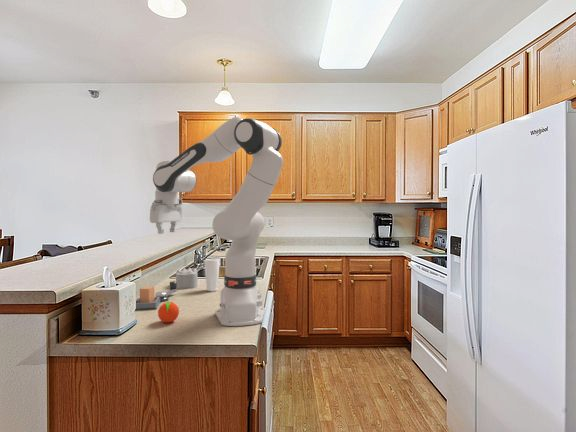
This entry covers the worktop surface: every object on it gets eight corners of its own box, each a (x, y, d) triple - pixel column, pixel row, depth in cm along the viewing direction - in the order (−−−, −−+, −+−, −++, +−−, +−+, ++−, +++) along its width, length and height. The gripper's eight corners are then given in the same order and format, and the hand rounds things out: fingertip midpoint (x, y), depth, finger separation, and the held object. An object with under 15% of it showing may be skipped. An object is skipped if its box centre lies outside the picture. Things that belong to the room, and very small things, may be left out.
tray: (155, 309, 136) (155, 302, 136) (131, 310, 134) (131, 303, 134) (160, 302, 145) (160, 297, 144) (137, 304, 143) (137, 298, 143)
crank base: (167, 301, 146) (167, 298, 146) (152, 302, 145) (152, 299, 145) (169, 298, 152) (169, 295, 152) (155, 298, 151) (155, 296, 151)
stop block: (149, 306, 137) (148, 289, 137) (139, 306, 138) (139, 288, 138) (154, 303, 141) (154, 286, 141) (145, 303, 142) (145, 286, 141)
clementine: (178, 325, 117) (178, 304, 117) (156, 327, 115) (156, 306, 115) (179, 318, 125) (179, 298, 124) (159, 319, 123) (158, 299, 123)
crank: (162, 298, 146) (162, 287, 146) (153, 297, 147) (153, 287, 147) (179, 291, 158) (179, 281, 158) (171, 290, 160) (170, 281, 159)
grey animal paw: (175, 289, 169) (175, 271, 169) (176, 283, 181) (176, 267, 181) (197, 288, 172) (197, 270, 172) (196, 282, 184) (196, 266, 184)
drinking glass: (213, 288, 171) (213, 257, 171) (222, 290, 167) (222, 259, 166) (202, 290, 166) (201, 259, 166) (211, 292, 162) (210, 260, 161)
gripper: (160, 199, 136) (160, 234, 136) (184, 200, 156) (184, 231, 156) (145, 199, 137) (145, 234, 137) (171, 200, 157) (171, 231, 157)
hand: (166, 232), depth 147 cm, fingers open, 8 cm apart
